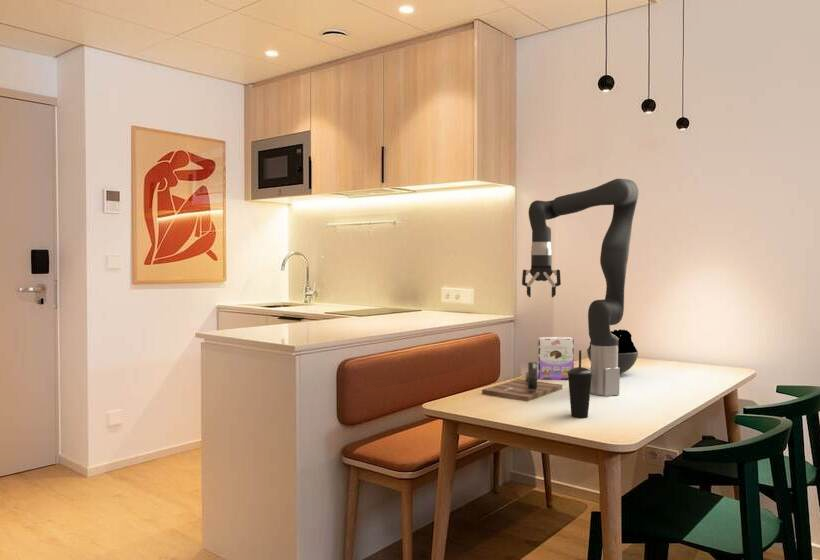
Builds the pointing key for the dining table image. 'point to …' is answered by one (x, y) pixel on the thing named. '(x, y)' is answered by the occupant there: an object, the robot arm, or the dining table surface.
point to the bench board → (521, 390)
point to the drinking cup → (579, 390)
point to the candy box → (554, 357)
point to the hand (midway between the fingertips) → (541, 297)
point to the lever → (532, 376)
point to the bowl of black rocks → (623, 350)
